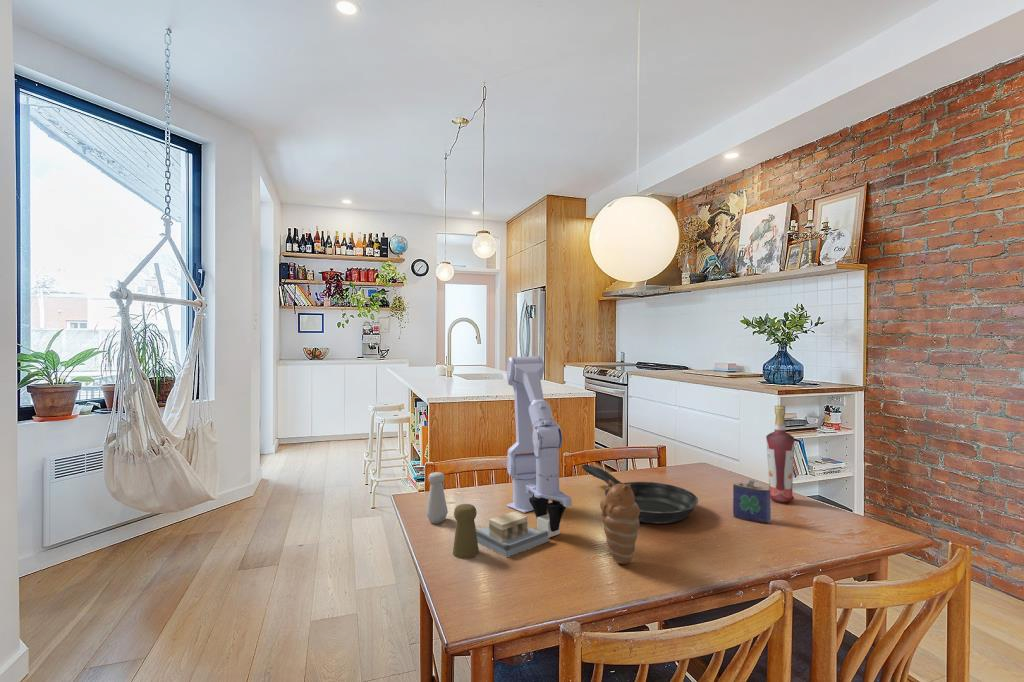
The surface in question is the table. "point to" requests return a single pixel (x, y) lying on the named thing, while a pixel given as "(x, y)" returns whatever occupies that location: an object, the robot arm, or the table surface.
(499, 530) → the block
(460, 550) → the pepper shaker
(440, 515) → the salt shaker
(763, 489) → the flask
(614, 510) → the cat ice cream
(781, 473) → the liquor
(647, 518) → the frying pan
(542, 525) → the white cube
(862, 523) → the table surface
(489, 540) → the dock
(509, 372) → the robot arm
